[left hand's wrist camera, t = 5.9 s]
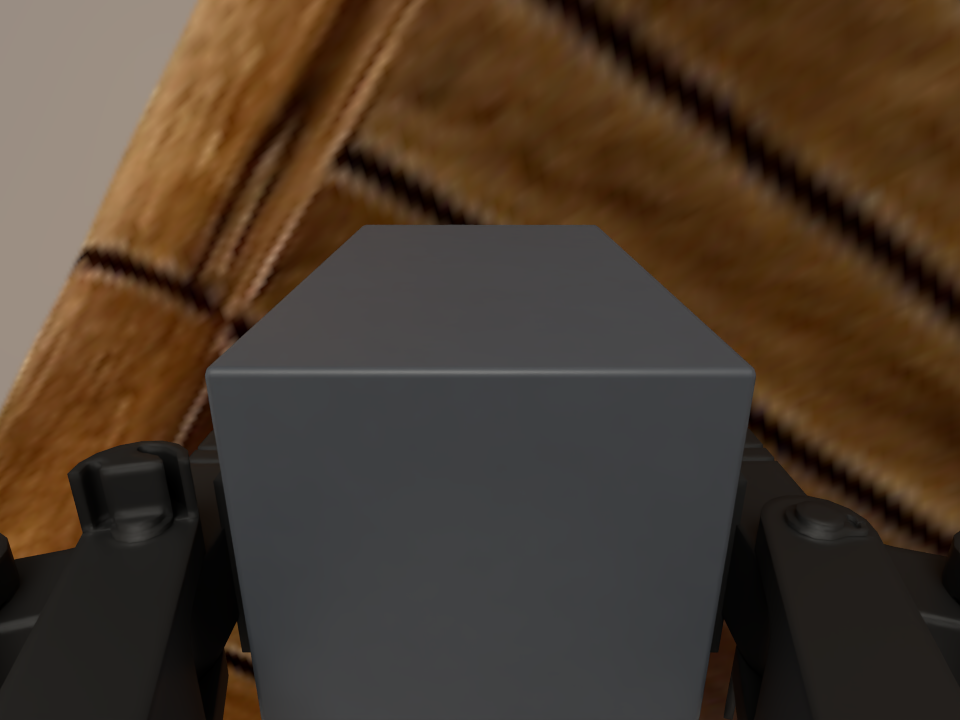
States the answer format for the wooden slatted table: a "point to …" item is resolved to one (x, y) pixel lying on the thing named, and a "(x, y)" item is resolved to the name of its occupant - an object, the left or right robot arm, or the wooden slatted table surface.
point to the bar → (480, 481)
